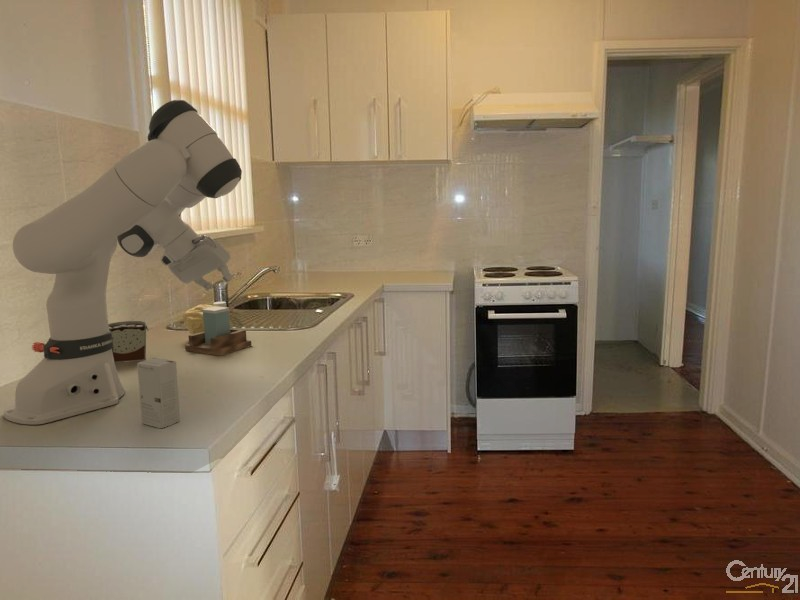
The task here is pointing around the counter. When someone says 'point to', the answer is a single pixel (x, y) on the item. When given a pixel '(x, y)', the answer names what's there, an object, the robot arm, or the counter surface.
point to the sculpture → (195, 319)
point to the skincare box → (158, 392)
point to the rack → (218, 342)
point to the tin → (215, 322)
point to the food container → (129, 340)
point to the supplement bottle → (221, 305)
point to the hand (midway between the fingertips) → (220, 284)
